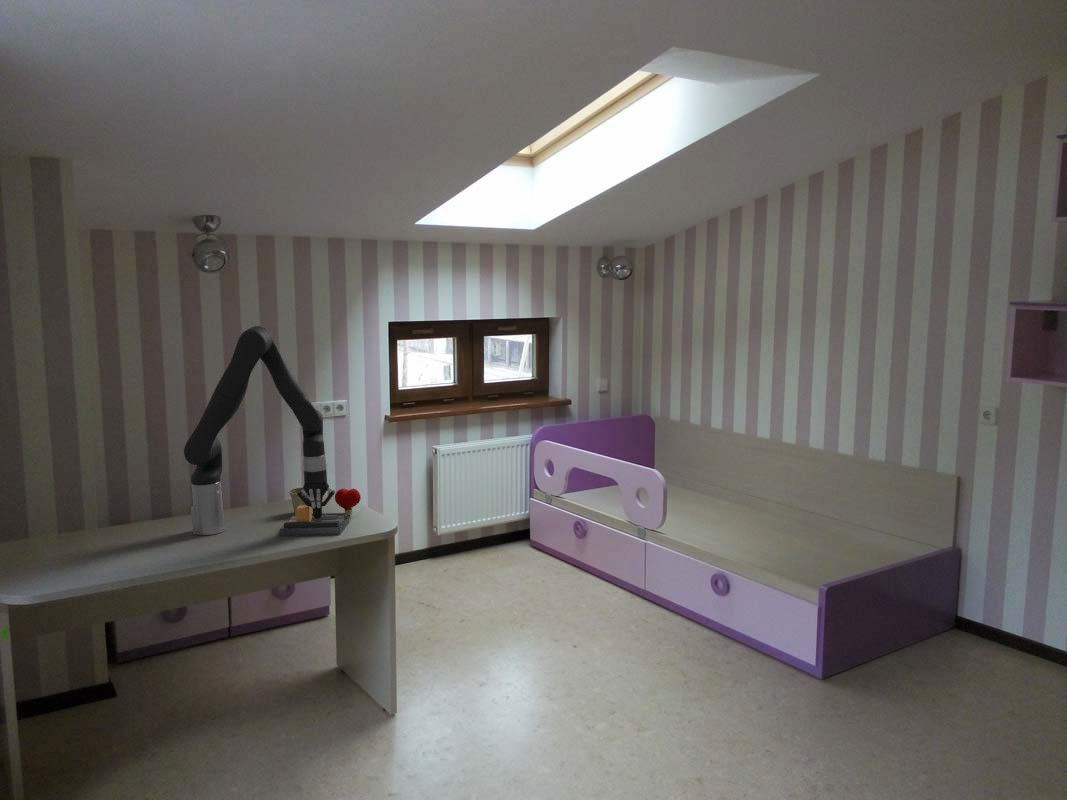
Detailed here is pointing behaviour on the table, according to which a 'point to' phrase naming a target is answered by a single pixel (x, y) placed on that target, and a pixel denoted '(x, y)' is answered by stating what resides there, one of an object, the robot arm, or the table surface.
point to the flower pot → (297, 498)
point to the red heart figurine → (347, 499)
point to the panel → (316, 530)
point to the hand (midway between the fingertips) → (317, 517)
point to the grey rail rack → (314, 524)
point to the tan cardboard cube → (303, 513)
